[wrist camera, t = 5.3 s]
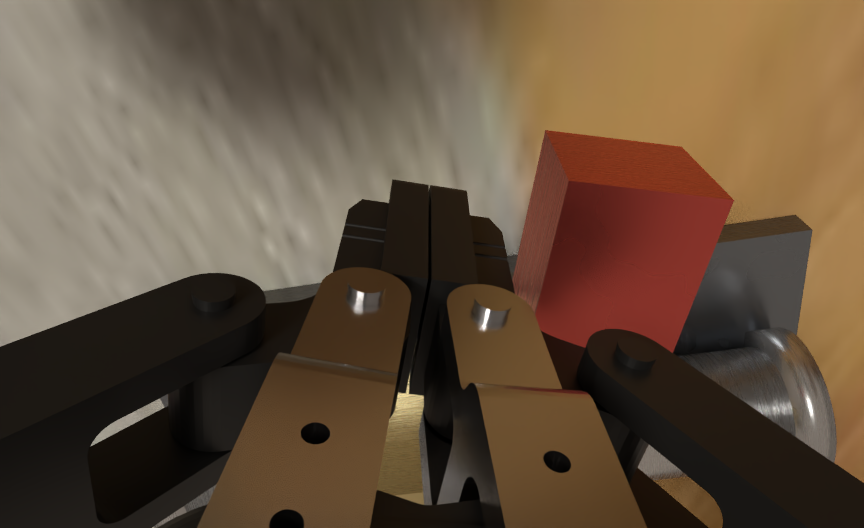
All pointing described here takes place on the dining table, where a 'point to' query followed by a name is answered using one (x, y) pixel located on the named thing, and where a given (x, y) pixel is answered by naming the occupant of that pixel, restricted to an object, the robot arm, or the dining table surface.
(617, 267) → the valve lever
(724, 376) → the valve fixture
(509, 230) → the dining table surface
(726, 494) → the robot arm
